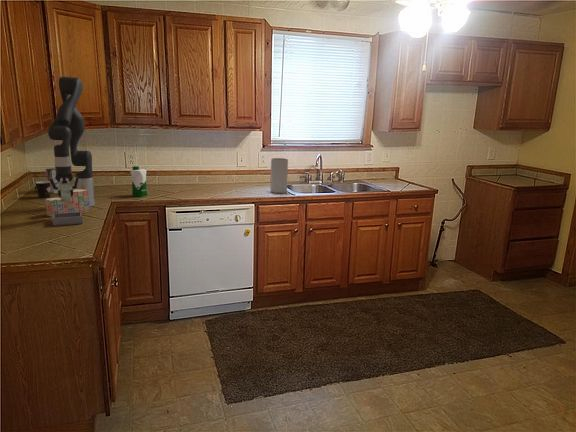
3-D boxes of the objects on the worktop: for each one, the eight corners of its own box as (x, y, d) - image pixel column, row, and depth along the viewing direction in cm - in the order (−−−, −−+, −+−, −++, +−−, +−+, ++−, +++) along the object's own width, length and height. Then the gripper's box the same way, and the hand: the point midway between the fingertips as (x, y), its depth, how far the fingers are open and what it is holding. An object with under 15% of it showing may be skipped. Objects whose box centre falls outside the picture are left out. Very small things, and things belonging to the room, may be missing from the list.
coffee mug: (47, 195, 283) (45, 180, 281) (54, 197, 279) (53, 182, 277) (29, 198, 273) (27, 182, 271) (36, 200, 269) (35, 184, 267)
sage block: (61, 200, 230) (60, 181, 228) (71, 199, 232) (69, 181, 230) (61, 202, 226) (59, 183, 223) (71, 201, 228) (69, 183, 225)
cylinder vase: (267, 192, 321) (268, 159, 315) (274, 189, 332) (275, 157, 326) (283, 194, 317) (284, 160, 310) (289, 191, 328) (290, 158, 322)
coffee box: (63, 192, 295) (61, 169, 291) (53, 193, 290) (51, 170, 286) (56, 190, 300) (54, 167, 296) (47, 191, 295) (44, 168, 291)
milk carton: (138, 194, 298) (137, 165, 293) (149, 195, 295) (148, 166, 291) (130, 196, 290) (128, 167, 285) (141, 197, 287) (139, 168, 282)
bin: (53, 221, 223) (53, 213, 222) (82, 219, 229) (81, 211, 228) (53, 226, 214) (52, 218, 213) (82, 223, 220) (81, 216, 219)
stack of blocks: (52, 217, 231) (50, 195, 228) (46, 215, 235) (44, 193, 232) (89, 210, 248) (88, 189, 245) (83, 208, 252) (82, 188, 249)
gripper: (77, 163, 230) (80, 194, 235) (47, 164, 224) (51, 196, 229) (78, 165, 224) (81, 197, 228) (47, 166, 218) (50, 199, 222)
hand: (66, 196), depth 228 cm, fingers closed on sage block, 4 cm apart
